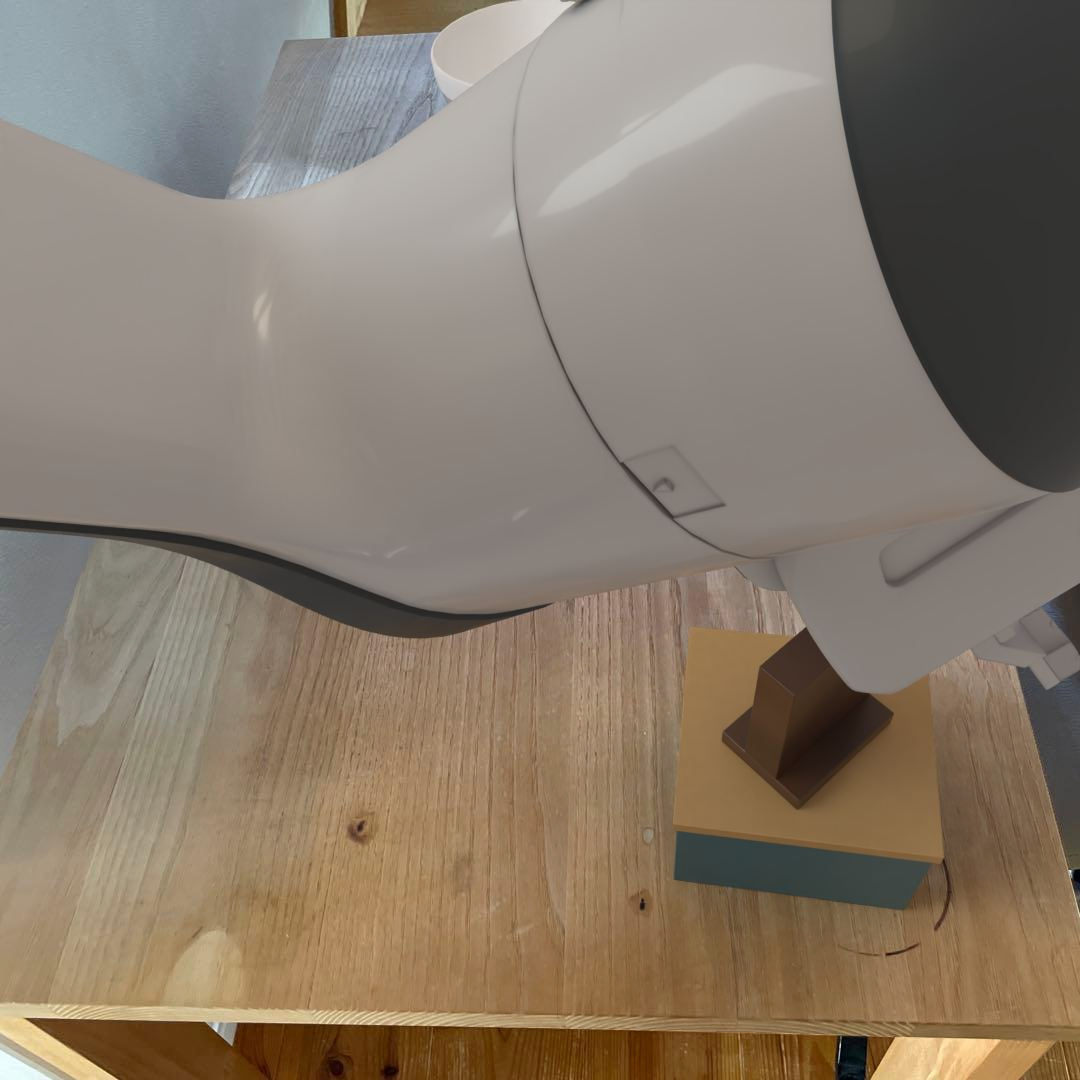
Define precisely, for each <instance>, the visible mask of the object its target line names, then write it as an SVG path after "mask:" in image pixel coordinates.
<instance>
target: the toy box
mask: <svg viewBox="0 0 1080 1080" xmlns="http://www.w3.org/2000/svg"><path fill="white" fill-rule="evenodd" d="M688 631H689V632H688V641H687V642H688V643H687V652H686V653H687V654H686V664H685V665H686V666H685V676H684V687H683V688H684V689H683V700H682V702H683V703H682V710H681V711H682V712H681V723H680V734H679V746H678V758H677V768H676V778H675V779H676V780H675V791H674V801H673V804H674V805H673V816H672V826H671V827H672V831H674V832H675V833H676V834H675V849H674V864H673V865H674V866H673V880H675V881H683V882H689V883H696V884H697V883H698V884H703V885H713V886H719V887H726V888H734V889H735V888H736V889H741V890H749V891H757V892H765V893H772V894H779V895H787V896H795V897H802V898H810V899H815V900H823V901H832V902H840V903H847V904H852V905H853V904H854V905H861V906H868V907H877V908H884V909H890V910H891V909H892V910H898V911H899V910H900V911H905V910H906V908H907V906H908V905H909V903H910V902H911V900H912V898H913V896H914V895H915V893H916V891H917V890H918V888H919V886H920V885H921V883H922V882H923V880H924V878H925V877H926V875H927V873H928V872H929V870H930V869H931V867H932V865H933V864H941V863H942V862H943V860H944V859H945V852H944V851H945V850H944V849H945V848H944V838H943V827H942V815H941V804H940V793H939V780H938V766H937V757H936V744H935V733H934V722H933V721H934V720H933V709H932V708H933V707H932V699H931V686H930V673H929V674H927V675H926V676H924V677H922V678H921V679H919V680H917V681H916V682H914V683H913V684H911V685H909V686H908V687H906V688H904V689H902V690H900V691H898V692H896V693H893V694H890V695H885V694H872V693H870V694H871V695H872V696H873V697H875V698H876V699H877V700H878V701H880V702H881V703H882V704H884V705H885V706H886V707H887V708H889V709H890V710H891V711H892V712H893V713H894V715H893V718H892V720H891V723H890V724H889V725H888V726H886V727H885V728H884V729H883V730H882V731H881V732H880V733H879V734H878V735H877V736H876V737H875V738H874V739H873V740H872V741H871V742H869V743H868V744H867V745H866V746H865V747H864V748H863V749H862V750H861V751H860V752H859V753H858V754H857V755H856V756H855V757H854V758H853V759H851V760H850V761H849V762H848V763H847V764H846V765H845V766H844V767H843V768H842V769H841V770H840V771H839V772H838V773H837V774H836V775H834V776H833V777H832V778H831V779H830V780H829V781H828V782H827V783H826V784H825V785H824V786H823V787H822V788H821V789H820V790H819V791H818V792H816V793H815V794H814V795H813V796H812V797H811V798H810V799H809V800H808V801H807V802H806V803H805V804H804V805H803V806H802V807H801V808H799V809H798V810H797V809H795V808H794V807H793V806H792V805H791V804H790V803H789V802H788V801H787V800H786V799H785V798H783V797H782V796H781V795H780V794H779V793H778V792H777V791H776V790H775V789H774V788H773V787H771V786H770V785H769V784H768V783H767V782H766V781H765V780H764V779H763V778H762V777H761V776H759V775H758V774H757V773H756V772H755V771H754V770H753V769H752V768H751V767H750V766H749V765H747V764H746V763H745V762H744V761H743V760H742V759H741V758H740V757H739V756H738V755H737V754H735V753H734V752H733V751H732V750H731V749H730V748H729V747H728V746H727V745H726V744H724V743H723V742H722V740H721V739H722V732H723V731H724V730H725V729H726V728H727V727H728V726H729V725H731V724H732V723H733V722H734V721H735V720H736V719H738V718H739V717H740V716H741V715H742V714H743V713H744V712H746V711H747V710H748V709H749V708H750V707H751V706H752V705H753V701H754V695H755V689H756V683H757V677H758V672H759V666H760V665H762V664H763V663H764V662H765V661H766V660H767V659H769V658H770V657H771V656H772V655H773V654H774V653H776V652H777V651H778V650H779V649H780V648H782V647H783V646H784V645H785V644H786V643H787V642H789V641H790V640H791V639H792V638H793V637H794V636H795V635H785V634H774V633H763V632H755V631H754V632H752V631H744V630H743V631H741V630H730V629H719V628H708V627H698V626H689V630H688Z"/></svg>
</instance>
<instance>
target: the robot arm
mask: <svg viewBox="0 0 1080 1080" xmlns="http://www.w3.org/2000/svg"><path fill="white" fill-rule="evenodd" d="M560 1H561V2H568V1H571V0H560ZM574 2H575V3H574V4H573V5H571V6H570V7H569V8H567V9H566V10H565V11H564V12H563V13H562V14H561V15H560V16H559V17H558V18H557V19H556V20H555V21H554V22H552V23H551V24H550V25H549V26H548V27H547V28H546V29H545V30H544V32H543V33H542V34H541V35H540V36H538V37H537V38H536V39H534V40H533V41H532V42H530V43H529V44H528V45H526V46H525V47H524V48H522V49H521V50H520V51H518V52H517V53H516V54H514V55H513V56H512V57H510V58H509V59H508V60H506V61H505V62H504V63H502V64H501V65H499V66H498V67H497V68H495V69H494V70H493V71H491V72H490V73H489V74H487V75H486V76H485V77H483V78H482V79H481V80H479V81H478V82H477V83H475V84H474V85H473V86H471V87H470V88H469V89H467V90H466V91H465V92H463V93H462V94H461V95H459V96H458V97H457V98H455V99H454V100H453V101H451V102H450V103H449V104H446V105H444V106H443V107H442V108H440V110H438V111H436V112H435V113H434V114H433V115H431V116H430V117H429V118H427V119H426V120H424V121H423V122H422V123H420V124H419V125H418V126H416V127H415V128H413V129H412V130H411V131H409V132H408V133H407V134H406V135H404V136H403V137H402V138H401V139H399V140H397V141H396V142H395V143H394V144H392V145H391V146H390V147H388V148H387V149H386V150H383V151H382V152H380V153H379V154H377V155H375V156H374V157H371V158H369V159H367V160H365V161H363V162H361V163H359V164H357V165H355V166H353V167H352V168H349V169H346V170H345V171H342V172H339V173H336V174H334V175H331V176H329V177H326V178H324V179H321V180H319V181H315V182H313V183H310V184H306V185H303V186H300V187H299V186H298V187H296V188H293V189H290V190H285V191H281V192H276V193H272V194H271V193H270V194H266V195H261V196H255V197H247V198H232V199H231V198H230V199H229V198H227V199H223V198H208V197H203V196H202V197H200V196H196V195H191V194H187V193H184V192H181V191H178V190H176V189H174V188H171V187H168V186H166V185H163V184H161V183H159V182H156V181H154V180H151V179H148V178H147V177H143V176H141V175H139V174H136V173H134V172H132V171H129V170H127V169H125V168H122V167H120V166H117V165H115V164H112V163H109V162H107V161H105V160H102V159H100V158H97V157H95V156H92V155H90V154H88V153H85V152H84V151H81V150H78V149H75V148H73V147H70V146H68V145H66V144H63V143H62V142H59V141H57V140H54V139H51V138H50V137H46V136H44V135H43V134H40V133H37V132H34V131H32V130H30V129H27V128H25V127H22V126H20V125H17V124H16V123H12V122H10V121H8V120H5V119H3V118H0V531H10V532H21V533H23V532H24V533H36V534H46V535H47V534H49V535H61V536H72V537H73V536H74V537H84V538H94V539H104V540H111V541H118V542H125V543H132V544H138V545H141V546H148V547H151V548H156V549H161V550H164V551H168V552H173V553H176V554H179V555H183V556H186V557H189V558H192V559H195V560H198V561H200V562H204V563H205V564H209V565H212V566H214V567H216V568H219V569H221V570H224V571H226V572H229V573H231V574H233V575H236V576H238V577H240V578H242V579H245V580H247V581H249V582H251V583H253V584H255V585H257V586H259V587H262V589H263V588H264V589H266V590H268V591H270V592H271V593H274V594H276V595H278V596H279V597H282V598H283V599H286V600H288V601H291V602H292V603H294V604H296V605H299V606H300V607H302V608H305V609H308V611H309V610H310V611H311V612H314V613H316V614H318V615H320V616H322V617H325V618H328V619H330V620H333V621H335V622H338V623H339V624H340V623H341V624H342V625H346V626H349V627H351V628H355V629H358V630H361V631H364V632H367V633H372V634H377V635H382V636H386V637H391V638H393V637H394V638H401V639H417V640H418V639H419V640H421V639H434V638H442V637H444V638H445V637H450V636H453V635H457V634H462V633H464V632H468V631H471V630H475V629H477V628H481V627H484V626H488V625H491V624H495V623H498V622H501V621H505V620H508V619H511V618H514V617H515V618H516V617H518V616H521V615H524V614H528V613H531V612H534V611H537V610H538V611H539V610H541V609H544V608H547V607H549V606H551V605H553V604H555V603H559V602H563V601H569V600H573V599H579V598H584V597H588V596H594V595H598V594H604V593H609V592H613V591H619V590H620V591H621V590H624V589H630V588H634V587H639V586H645V585H650V584H654V583H659V582H664V581H669V580H670V581H671V580H674V579H680V578H684V577H689V576H694V575H699V574H705V573H711V572H716V571H721V570H724V569H730V568H734V569H736V571H738V573H739V574H740V575H741V576H742V577H743V578H744V579H746V580H747V581H749V582H750V583H751V584H753V585H755V586H756V587H759V588H761V589H764V590H767V591H771V592H772V591H773V592H787V593H786V594H787V595H788V597H789V598H790V600H791V602H792V604H793V605H794V608H795V609H796V611H797V613H798V615H799V617H800V618H801V621H802V622H803V624H804V626H805V627H807V629H808V631H809V633H810V634H811V636H812V638H813V639H814V641H815V642H816V644H817V645H818V647H819V649H820V650H821V652H822V653H823V655H824V656H825V657H826V659H827V660H828V662H829V663H830V664H831V666H832V667H833V668H834V670H835V671H836V672H837V673H838V675H839V676H840V677H841V679H842V680H843V681H844V682H845V683H846V684H847V686H849V687H850V688H851V689H852V690H854V691H857V692H864V693H872V694H885V695H890V694H893V693H896V692H898V691H900V690H902V689H904V688H906V687H908V686H909V685H911V684H913V683H914V682H916V681H917V680H919V679H921V678H922V677H924V676H926V675H927V674H929V675H930V674H931V673H932V672H934V671H935V670H937V669H939V668H941V667H943V666H944V665H945V664H947V663H949V662H951V661H953V660H954V659H955V658H957V657H960V656H961V655H962V654H963V653H964V654H965V653H966V652H967V651H969V650H971V652H972V653H973V655H974V656H975V657H976V658H977V659H978V660H982V661H987V662H992V663H998V664H1003V665H1008V666H1013V667H1018V668H1023V669H1025V668H1028V669H1030V671H1031V672H1032V674H1033V675H1034V676H1035V677H1036V679H1037V680H1038V681H1039V683H1040V684H1041V685H1042V687H1043V688H1044V689H1045V690H1046V691H1048V690H1049V689H1052V688H1053V687H1055V686H1057V685H1058V684H1059V683H1060V682H1062V681H1065V679H1067V678H1069V677H1070V676H1071V677H1072V675H1074V674H1076V673H1078V672H1079V671H1080V654H1079V651H1078V650H1077V648H1076V647H1075V645H1074V644H1073V642H1072V641H1071V640H1070V638H1069V637H1068V636H1067V635H1066V633H1064V631H1063V630H1062V629H1061V628H1060V627H1058V625H1057V624H1056V622H1055V621H1054V619H1053V617H1051V616H1050V614H1049V613H1048V612H1047V611H1046V610H1045V609H1044V607H1042V606H1044V605H1045V604H1047V603H1049V602H1050V601H1052V600H1054V599H1056V598H1058V597H1059V596H1061V595H1063V594H1064V593H1066V592H1068V591H1069V590H1070V589H1072V588H1074V587H1076V586H1077V585H1079V584H1080V0H576V1H574Z"/></svg>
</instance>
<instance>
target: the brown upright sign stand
mask: <svg viewBox="0 0 1080 1080" xmlns="http://www.w3.org/2000/svg"><path fill="white" fill-rule="evenodd" d="M793 636H794V637H793V638H792V639H791V640H790V641H789V642H787V643H786V644H785V645H784V646H783V647H782V648H780V649H779V650H778V651H777V652H776V653H774V654H773V655H772V656H771V657H770V658H769V659H767V660H766V661H765V662H764V663H763V664H762V665H760V666H759V672H758V677H757V683H756V689H755V695H754V701H753V705H752V706H751V707H750V708H749V709H748V710H747V711H746V712H744V713H743V714H742V715H741V716H740V717H739V718H738V719H736V720H735V721H734V722H733V723H732V724H731V725H729V726H728V727H727V728H726V729H725V730H724V731H723V732H722V739H721V740H722V742H723V743H724V744H726V745H727V746H728V747H729V748H730V749H731V750H732V751H733V752H734V753H735V754H737V755H738V756H739V757H740V758H741V759H742V760H743V761H744V762H745V763H746V764H747V765H749V766H750V767H751V768H752V769H753V770H754V771H755V772H756V773H757V774H758V775H759V776H761V777H762V778H763V779H764V780H765V781H766V782H767V783H768V784H769V785H770V786H771V787H773V788H774V789H775V790H776V791H777V792H778V793H779V794H780V795H781V796H782V797H783V798H785V799H786V800H787V801H788V802H789V803H790V804H791V805H792V806H793V807H794V808H795V809H797V810H798V809H799V808H801V807H802V806H803V805H804V804H805V803H806V802H807V801H808V800H809V799H810V798H811V797H812V796H813V795H814V794H815V793H816V792H818V791H819V790H820V789H821V788H822V787H823V786H824V785H825V784H826V783H827V782H828V781H829V780H830V779H831V778H832V777H833V776H834V775H836V774H837V773H838V772H839V771H840V770H841V769H842V768H843V767H844V766H845V765H846V764H847V763H848V762H849V761H850V760H851V759H853V758H854V757H855V756H856V755H857V754H858V753H859V752H860V751H861V750H862V749H863V748H864V747H865V746H866V745H867V744H868V743H869V742H871V741H872V740H873V739H874V738H875V737H876V736H877V735H878V734H879V733H880V732H881V731H882V730H883V729H884V728H885V727H886V726H888V725H889V724H890V723H891V720H892V718H893V715H894V713H893V712H892V711H891V710H890V709H889V708H887V707H886V706H885V705H884V704H882V703H881V702H880V701H878V700H877V699H876V698H875V697H873V696H872V695H871V694H870V693H864V692H857V691H854V690H852V689H851V688H850V687H849V686H847V684H846V683H845V682H844V681H843V680H842V679H841V677H840V676H839V675H838V673H837V672H836V671H835V670H834V668H833V667H832V666H831V664H830V663H829V662H828V660H827V659H826V657H825V656H824V655H823V653H822V652H821V650H820V649H819V647H818V645H817V644H816V642H815V641H814V639H813V638H812V636H811V634H810V633H809V631H808V629H807V627H806V626H805V627H804V628H803V629H801V630H800V631H799V632H798V633H797V634H796V635H793Z"/></svg>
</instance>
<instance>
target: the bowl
mask: <svg viewBox="0 0 1080 1080" xmlns="http://www.w3.org/2000/svg"><path fill="white" fill-rule="evenodd" d="M575 2H576V1H574V0H570V1H568V2H561V1H560V0H512V1H506V2H501V3H497V4H493V5H489V6H486V7H483V8H480V9H476V10H473V11H472V12H469V13H467V14H465V15H463V16H461V17H459V18H457V19H455V20H454V21H452V22H451V23H450V24H448V25H447V26H446V27H445V28H443V29H442V30H441V31H440V32H439V34H438V35H437V36H436V37H435V39H434V41H433V43H432V45H431V48H430V61H431V65H432V69H433V74H434V77H435V81H436V84H437V86H438V88H439V90H440V92H441V94H442V97H443V99H444V102H445V104H446V105H447V104H449V103H450V102H451V101H453V100H454V99H455V98H457V97H458V96H459V95H461V94H462V93H463V92H465V91H466V90H467V89H469V88H470V87H471V86H473V85H474V84H475V83H477V82H478V81H479V80H481V79H482V78H483V77H485V76H486V75H487V74H489V73H490V72H491V71H493V70H494V69H495V68H497V67H498V66H499V65H501V64H502V63H504V62H505V61H506V60H508V59H509V58H510V57H512V56H513V55H514V54H516V53H517V52H518V51H520V50H521V49H522V48H524V47H525V46H526V45H528V44H529V43H530V42H532V41H533V40H534V39H536V38H537V37H538V36H540V35H541V34H542V33H543V32H544V30H545V29H546V28H547V27H548V26H549V25H550V24H551V23H552V22H554V21H555V20H556V19H557V18H558V17H559V16H560V15H561V14H562V13H563V12H564V11H565V10H566V9H567V8H569V7H570V6H571V5H573V4H574V3H575Z"/></svg>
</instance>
